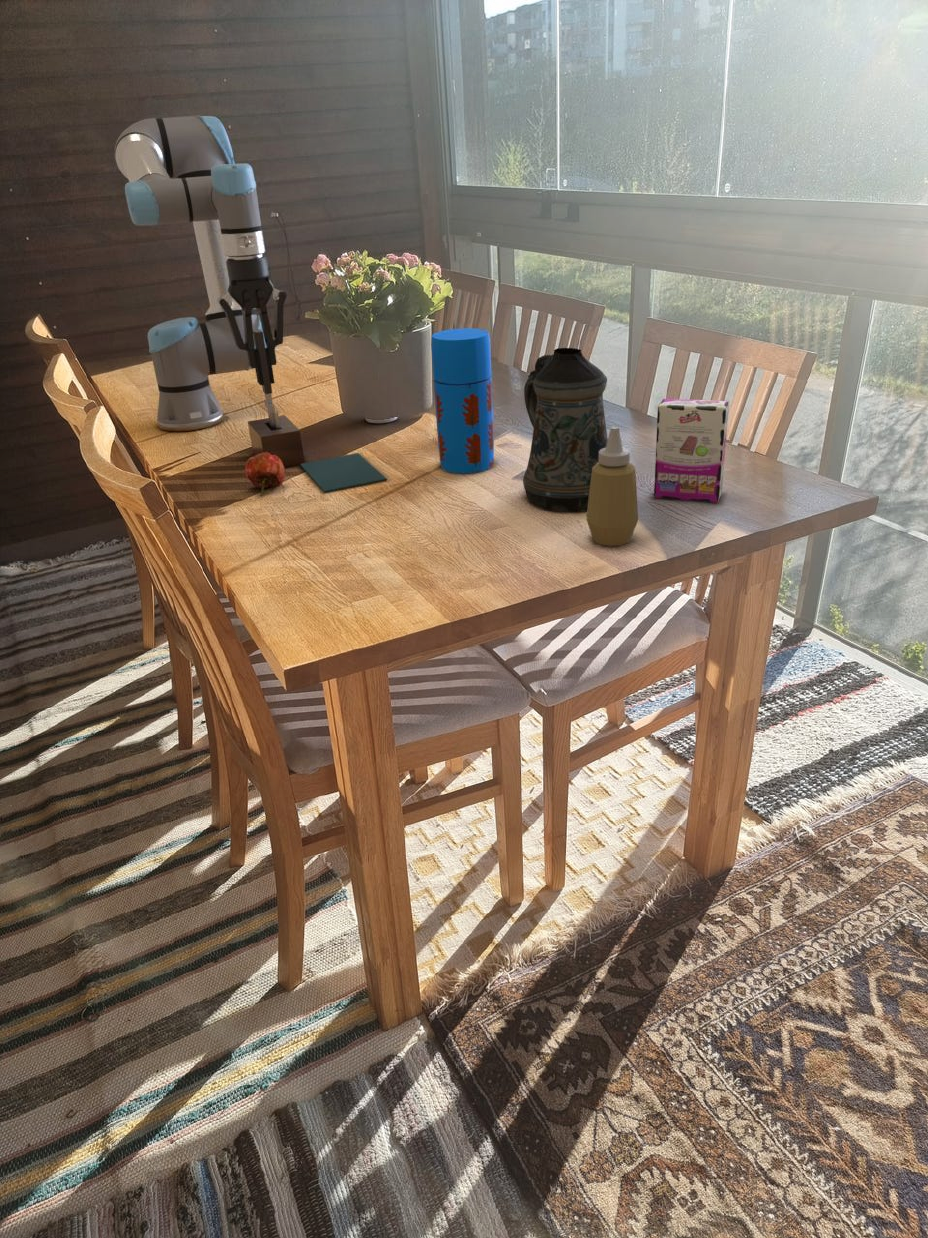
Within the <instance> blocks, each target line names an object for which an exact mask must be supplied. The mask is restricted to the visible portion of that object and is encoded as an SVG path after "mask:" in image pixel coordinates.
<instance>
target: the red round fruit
mask: <svg viewBox="0 0 928 1238" xmlns="http://www.w3.org/2000/svg"><path fill="white" fill-rule="evenodd" d="M244 475H245V477H246V479H247V480H248V481H250V483H251V485H253V486H254V488H255V487H256V488H259V489H261V491H260V496H261V497H262V496H263V493H264V490H265V488H278V487H280V486H282V485H283V482H284V480H285V478H286V469H285V468H284V465H283V463H282V461H281V459H280V458H279V457H277V456H276V455H271V454H270V453H269V450H267V451H266V452H263V453H260V454H257V455H254V454H253V455H252V456H250V457H249V458H248V459H247V460H246V462H245V466H244Z"/></svg>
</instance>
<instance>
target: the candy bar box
mask: <svg viewBox="0 0 928 1238" xmlns="http://www.w3.org/2000/svg"><path fill="white" fill-rule="evenodd" d="M729 411H730V400H715V399H713V400H712V399H687V398H685V399H684V398H683V399H681V398H662V400H661V401H660V403H659V405H658V406H657V415H656V416H657V417H656V438H655V439H656V440H655V442H656V443H655V461H654V462H655V463H654V483H653V498H655V499H664V500H677V501H690V502H701V503H702V502H705V503H719V501H720V498H721V496H722V493H723V485H724V472H725V461H726V460H725V459H726V449H727V448H726V446H727V435H728V434H727V433H728V421H729Z"/></svg>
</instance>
